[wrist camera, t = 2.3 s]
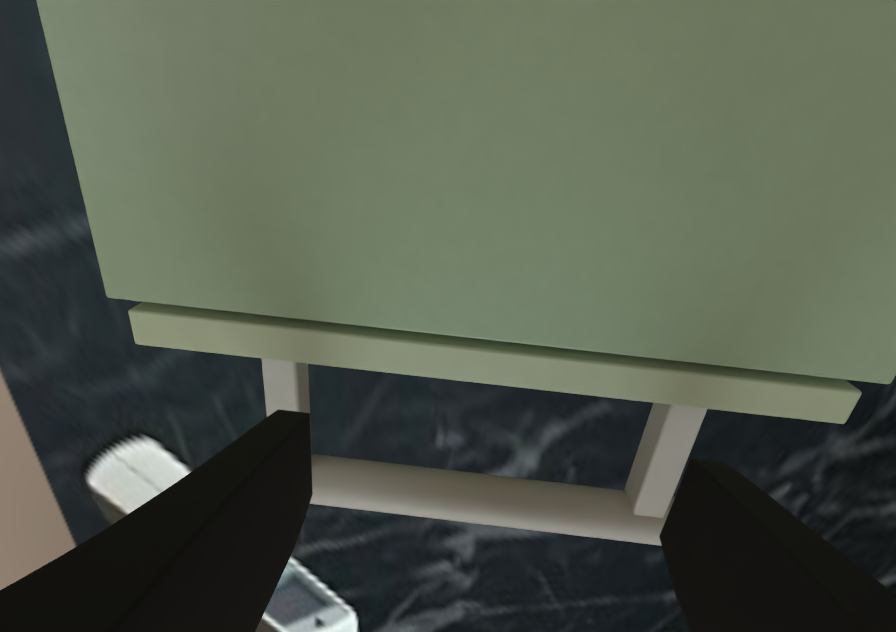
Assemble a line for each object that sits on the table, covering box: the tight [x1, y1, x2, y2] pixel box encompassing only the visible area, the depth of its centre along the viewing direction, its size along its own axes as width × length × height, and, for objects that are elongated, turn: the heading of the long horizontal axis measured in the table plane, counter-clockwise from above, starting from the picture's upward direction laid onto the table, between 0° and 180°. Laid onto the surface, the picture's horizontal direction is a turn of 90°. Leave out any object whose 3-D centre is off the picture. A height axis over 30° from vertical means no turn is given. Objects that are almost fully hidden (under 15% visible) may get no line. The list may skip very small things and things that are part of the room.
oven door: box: [128, 302, 862, 546], centre depth 14 cm, size 5×15×9 cm, turn 85°
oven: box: [36, 0, 896, 384], centre depth 10 cm, size 12×15×10 cm
